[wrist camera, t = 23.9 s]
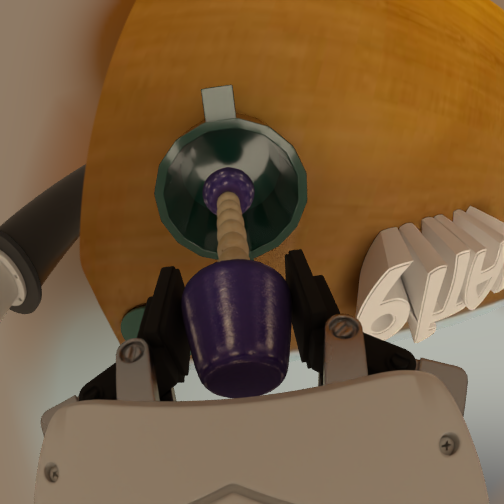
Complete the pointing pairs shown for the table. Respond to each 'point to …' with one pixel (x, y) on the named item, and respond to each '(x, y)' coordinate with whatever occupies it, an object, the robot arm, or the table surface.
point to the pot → (235, 156)
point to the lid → (132, 323)
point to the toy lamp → (236, 303)
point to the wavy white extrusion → (429, 272)
